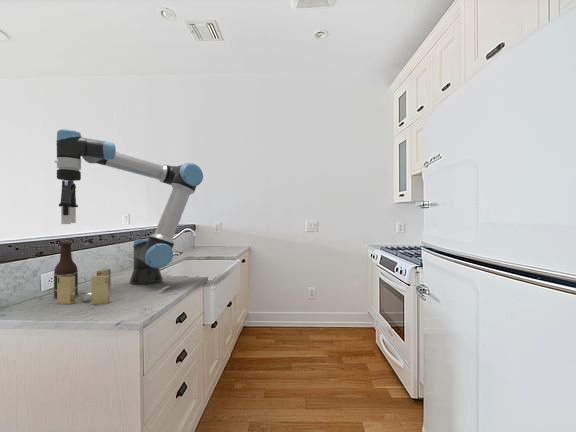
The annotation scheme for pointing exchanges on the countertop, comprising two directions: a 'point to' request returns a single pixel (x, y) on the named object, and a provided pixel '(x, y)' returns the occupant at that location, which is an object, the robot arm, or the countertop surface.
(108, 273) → the knob
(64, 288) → the tan rectangular block
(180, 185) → the robot arm
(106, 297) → the knob
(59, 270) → the beer bottle
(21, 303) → the countertop surface
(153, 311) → the countertop surface
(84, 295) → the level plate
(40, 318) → the countertop surface
